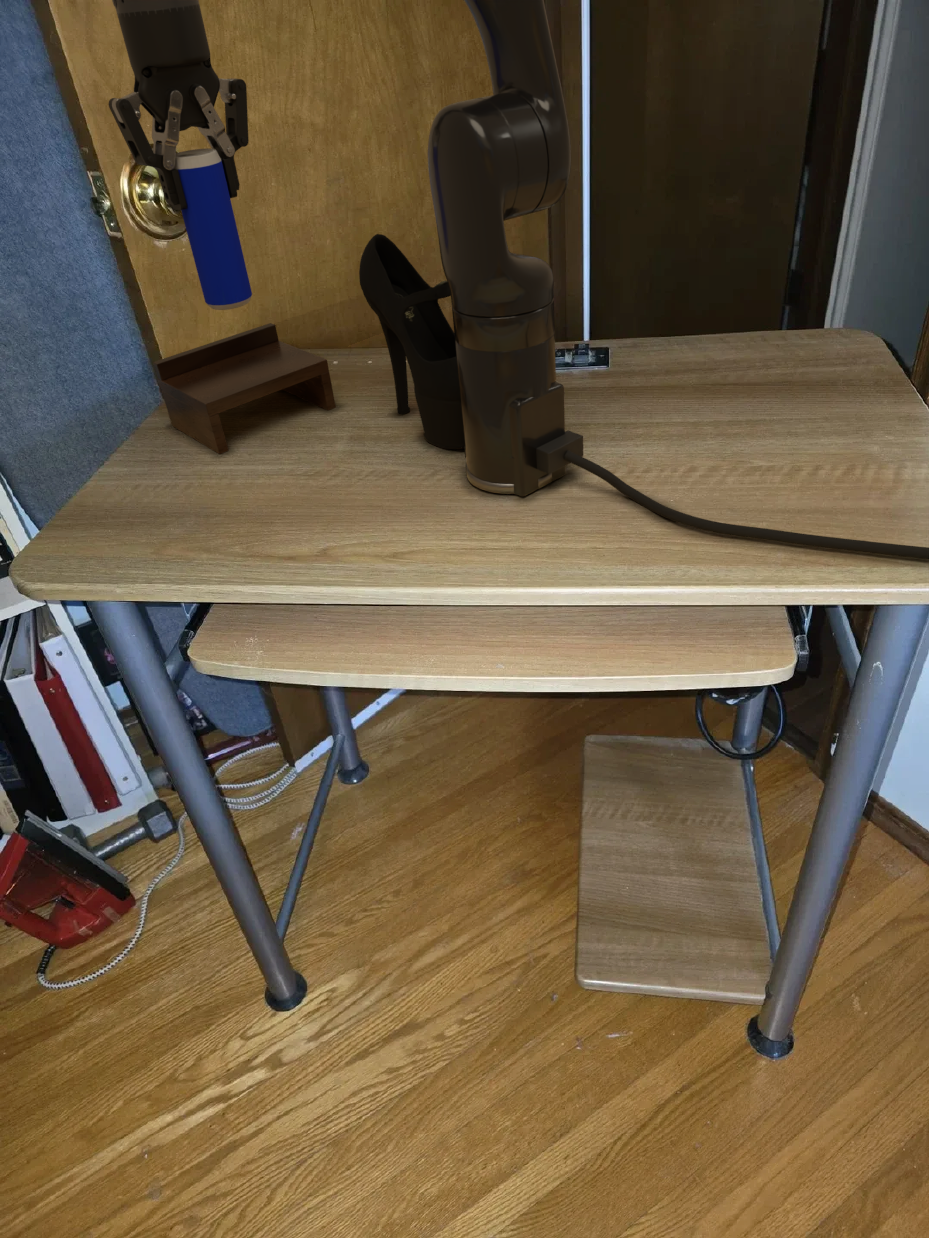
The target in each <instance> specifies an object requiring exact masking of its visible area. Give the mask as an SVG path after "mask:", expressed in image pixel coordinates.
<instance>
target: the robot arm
mask: <svg viewBox="0 0 929 1238" xmlns="http://www.w3.org/2000/svg"><path fill="white" fill-rule="evenodd" d="M462 1H463V3H464V4H465V6H466V7H467V9H468V12H469V13H470V15H471V18H472V19H473V21H474V23H475V26H476V28H477V32H478V33H479V37H480V39H481V43H482V46H483V50H484V54H485V57H486V62H487V66H488V71H489V76H490V82H491V87H492V94H491V95H487V96H482V97H476V98H471V99H466V100H460V101H457V102H454V103H450V104H448V105H445V106H444V107H442V108H441V109H439V110H438V112H437V113H436V115H435V116H434V118H433V120H432V121H431V122H432V123H431V125H430V129H429V133H428V139H427V171H428V179H429V186H430V188H429V189H430V194H431V200H432V206H433V213H434V220H435V226H436V227H435V228H436V233H437V239H438V241H437V242H438V246H439V248H438V249H439V256H440V261H441V266H442V270H443V273H444V276H445V279H446V281H447V282H448V285H449V289H450V294H451V296H450V300H451V311H452V312H451V313H452V322H453V332H454V335H455V346H456V357H457V367H458V378H459V388H460V399H461V410H462V420H463V431H464V441H465V447H464V448H463V450H464V457H465V458H464V459H466V460H465V461H466V463H465V470H466V477H467V480H468V481H469V483H470V484H471V485H473V486H474V487H476V488H477V489H480V490H483V491H485V492H489V493H493V494H503V495H505V494H507V495H508V494H509V495H510V494H512V495H513V494H514V495H517V496H519V497H526V496H528V495H530V494H531V493H534V492H535V491H537V490H539V489H541V488H543V487H545V486H547V485H549V484H550V483H552V482H554V481H556V480H558V479H560V478H562V477H564V476H565V475H566V474H567V466H568V465H569V464H572V465H575V466H577V467H579V468H580V469H583V470H585V471H587V472H589V473H591V474H593V475H595V476H596V477H598V478H600V479H601V480H603V481H605V482H606V483H607V484H608V485H610V486H612V487H613V488H614V489H616V490H617V491H618V492H619V493H621V494H622V495H624V496H626V497H627V498H629V499H631V500H632V501H633V502H636V503H637V504H639V505H641V506H642V507H644V508H646V509H647V510H650V511H651V512H653V513H655V514H657V515H658V516H661V517H663V518H666V519H667V520H670V521H673V522H675V523H678V524H681V525H685V526H688V527H691V528H694V529H697V530H702V531H704V532H705V531H706V532H710V533H714V534H719V535H720V534H721V535H724V536H725V535H726V536H733V537H740V538H749V539H755V540H756V539H757V540H765V541H771V542H778V543H786V544H793V545H798V546H805V547H806V546H807V547H815V548H824V549H832V550H841V551H847V552H849V551H850V552H856V553H857V552H858V553H867V554H873V555H883V556H892V557H903V558H909V559H919V560H921V559H922V560H929V547H927V546H917V545H916V546H915V545H907V544H898V543H889V542H888V543H887V542H879V541H868V540H861V539H852V538H842V537H834V536H825V535H819V534H818V535H816V534H808V533H801V532H795V531H793V532H792V531H787V530H779V529H771V528H763V527H756V526H749V525H740V524H732V523H726V522H718V521H715V520H709V519H707V518H706V519H705V518H702V517H698V516H695V515H690V514H687V513H685V512H681V511H680V510H679V511H678V510H676V509H673V508H670V507H668V506H666V505H663V504H662V503H659V502H658V501H657V500H655V499H652V498H651V497H650V496H647V495H646V494H643V492H641V491H639V490H637V489H635V488H634V487H632V486H631V485H629V484H627V483H626V482H625V481H623V480H622V479H621V478H619V477H618V476H617V475H616V474H614V473H613V472H611V471H610V470H608V469H606V468H605V467H603V466H601V465H599V464H598V463H595V462H593V461H592V460H589V459H588V458H586V457H584V435H582V434H581V433H578V432H575V431H571V430H570V429H569V430H566V415H565V414H566V413H565V412H566V411H565V409H566V408H565V385H564V384H563V383H561V382H558V381H557V367H556V366H557V364H556V325H555V298H554V297H555V284H554V283H555V282H554V274H553V269H552V267H551V265H550V264H549V263H548V262H547V261H545V260H543V259H541V258H539V257H537V256H532V255H527V254H522V253H516V252H511V251H510V249H509V246H508V242H507V236H506V230H505V222H504V221H509V220H513V219H517V218H521V217H524V216H527V215H530V214H534V213H538V212H543V211H545V210H548V209H549V208H551V207H553V206H555V205H556V204H558V202H560V200H561V199H562V198H563V196H564V194H565V192H566V190H567V187H568V184H569V180H570V175H571V167H572V145H571V144H572V143H571V134H570V125H569V120H568V119H569V118H568V115H567V109H566V104H565V98H564V93H563V88H562V84H561V80H560V74H559V69H558V65H557V60H556V56H555V55H556V54H555V50H554V44H553V41H552V36H551V30H550V26H549V21H548V16H547V11H546V5H545V0H462ZM111 2H112V4H113V7H114V8H115V12H116V15H117V19H118V23H119V27H120V30H121V34H122V37H123V41H124V45H125V50H126V52H127V57H128V60H129V64H130V67H131V69H132V72H133V76H134V85H133V91H132V92H130V93H128V94H126V95H124V96H122V97H113V98H110V99H109V100H108V108H109V110H110V112H111V114H112V116H113V118H114V120H115V122H116V125H117V126H118V129H119V131H120V133H121V135H122V137H123V139H124V141H125V143H126V145H127V147H128V150H129V151H130V154H131V156H132V158H133V160H134V162H135V163H136V164H137V165H139V166H145V167H150V168H153V169H155V170H156V172H157V175H158V179H159V183H160V186H161V190H162V194H163V197H164V200H165V202H166V204H168V205H171V207H172V209H174V210H175V211H181V210H185V209H187V203H186V199H185V195H184V191H183V187H182V183H181V179H180V176H179V172H178V169H174V167H175V157H176V153H177V146H178V145H179V141H180V132H183V131H187V130H189V129H190V128H191V127H192V128H197V130H198V131H199V132H200V134H201V135H202V136H203V137H204V138H205V139H206V142H207V143H208V144H209V146H210V149H215V150H216V151H217V153H218V155H219V157H220V158H221V161H222V165H223V169H224V174H225V178H226V182H227V187H228V191H229V196H230V199H233V198H237V197H238V191H240V179H239V176H238V172H237V166H236V162H235V155H236V153H237V151H238V150H240V149H241V148H244V147H247V146H248V144H249V117H248V95H247V93H248V91H247V90H248V89H247V83H246V82H245V81H246V80H244V79H242V78H233V77H232V78H219V76H218V74H217V73H216V71H215V70H214V68H213V66H212V65H213V64H212V62H211V60H212V59H211V51H210V46H209V41H208V37H207V31H206V28H205V23H204V19H203V18H204V17H203V14H202V10H201V6H200V0H111ZM219 94H220V99H221V101H222V102H223V103H224V115H225V125H224V122H223V121H222V119H221V118H220V116H219V114H218V113H217V110H216V109H215V105H216V101H217V98H218V95H219ZM140 107H142V108H144V109H145V110H146V112H147V113H149V115H150V116H151V117H152V121H151V122H152V124H151V125H152V126H151V139H152V142H153V147H152V146H151V144H150V141H149V139H148V136H147V135H146V133H145V131H144V128H143V127H142V125H141V122H140V119H141V117H142V114H141V113H142V112H141V110H140ZM181 212H182V211H181Z"/></svg>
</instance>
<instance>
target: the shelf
mask: <svg viewBox="0 0 929 1238" xmlns="http://www.w3.org/2000/svg"><path fill="white" fill-rule="evenodd" d="M152 365H153V368H154V371H155V374H156V377H157V381H158V384H159V388H160V390H161V394H162V397H163V401H164V403H165V407H166V410H167V414H168V418H169V419H170V423H171V426H172V427H174V428H175V429H177V430H179V432H181V433H183V434H185V435H186V436H188V437H190V438H191V439H194V440H195V441H197V442H199V443H200V444H202V445H203V446H205V447H207V448H208V449H210V450H212V451H214V452H215V453H217V454H219V455H221V454H223V453H226V452H228V451H229V447H228V443H227V439H226V435H225V433H224V429H223V424H222V421H221V418H220V417H221V416H220V414H221V413H223V412H226V411H228V410H231V409H234V408H237V407H239V406H242V405H245V404H247V403H250V402H252V401H253V402H254V401H256V400H257V399H261V398H263V397H266V396H268V395H271V394H274V393H277V392H279V391H284V392H286V393H289V394H291V395H293V396H295V397H297V398H299V399H302V400H304V401H306V402H309V403H311V404H312V405H315V406H317V407H319V408H322V409H324V410H326V411H331V410H333V409H335V408H337V406H336V401H335V395H334V390H333V385H332V379H331V373H330V369H329V363H328V359H327V358H324V357H321V356H319V355H316V354H314V353H312V352H310V351H307V350H304V349H301V348H299V347H296V346H293V345H291V344H289V343H285V342H283V341H281V340H279V335H278V332H277V326H276V324H274V323H272V322H269V323H267V324H263V325H259V326H257V327H254V328H251V329H247V330H246V331H245V330H244V331H242V332H239V333H237V334H234V335H230V336H228V337H224V338H221V339H219V340H215V341H213V342H208V343H206V344H203V345H200V346H197V347H194V348H191V349H187V350H184V351H182V352H179V353H176V354H172V355H169V356H167V357H164V358H162V359H157V360H155V361H153V362H152Z"/></svg>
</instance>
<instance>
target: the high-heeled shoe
mask: <svg viewBox="0 0 929 1238" xmlns="http://www.w3.org/2000/svg"><path fill="white" fill-rule="evenodd" d="M358 270H359V271H358V272H359V273H358V274H359V275H358V276H359V278H358V279H359V286H360V289H361V291H362V293H363V296H364V298H365V300H366V303H367V304H368V305H369V308H370V309H371V310H372V311H373V312H374V313H375V314H376V316H377V318H378V321H379V323H380V327H381V329H382V332H383V336H384V340H385V343H386V346H387V351H388V354H389V359H390V363H391V369H392V375H393V381H394V388H395V389H394V390H395V399H396V411H397V414H398V415H401V416H403V415H405V414H408V413H410V412H411V411H410V410H411V409H410V407H409V403H410V402H409V385H408V371H407V369H408V368H407V367H408V366H409V370H410V374H411V378H412V382H413V391H414V399H415V402H416V405H417V409H418V413H419V417H420V421H421V425H422V429H423V437H424V439H425V440H426V441H427V442H428V443H429V444H431V445H432V446H435V447H437V448H441V449H445V450H461V449H464V447H465V441H464V431H463V420H462V410H461V399H460V388H459V378H458V367H457V357H456V346H455V335H454V329H453V328H452V327H451V325H450V323H449V321H448V319H447V318H446V316H445V314H444V312H443V310H442V309H441V306H440V303H439V300H442V299H445V298H447V297H448V298H449V297H451V294H450V289H449V285H448V282H447V280H443V281H439V282H438V283H437V284H435V285H434V286H431V285H430V284H429V283H427V281H426V280H425V279H424V278H423V277H422V276H421V274H420V273H419V272H418V270H416V268H415V267H414V265H413V264H412V263H411V262H410V261H409V259H408V258H407V257H406V255H405V253H403V252H402V250H401V249H400V248H399V247H398V246H397V245H396V244H395V242H394V241H392V240H391V239H390V238H389V237H387V236H386V235H385V234H381V233H376V234H374V235H373V236H371V238H370V240H368V242H367V243H366V245H365V247H364V249H363V251H362V254H361V257H360V261H359V268H358ZM407 364H408V365H407Z"/></svg>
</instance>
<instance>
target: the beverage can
mask: <svg viewBox="0 0 929 1238" xmlns="http://www.w3.org/2000/svg"><path fill="white" fill-rule="evenodd" d="M174 169H178V172H179V176H180V179H181V183H182V187H183V191H184V195H185V199H186V203H187V209H185V210H181V215H182V218H183V222H184V227H185V230H186V234H187V238H188V241H189V245H190V249H191V253H192V257H193V261H194V264H195V269H196V272H197V276H198V280H199V284H200V287H201V291H202V295H203V299H204V303H205V304H206V305H207V306H208V307H209V308H211V309H212V310H216V311H228V310H234V309H238V308H241V307H243V306H245V305H247V304H249V303H250V301H251V299H252V296H253V292H252V287H251V283H250V278H249V275H248V270H247V266H246V261H245V256H244V253H243V248H242V244H241V240H240V239H241V238H240V235H239V231H238V227H237V222H236V218H235V213H234V209H233V204H232V200H231V198H230V196H229V191H228V187H227V182H226V178H225V174H224V169H223V165H222V161H221V158H220V157H219V155H218V153H217V151H216V150H215V149H212V148H196V149H188V150H184V151H179V152H176V157H175V167H174Z"/></svg>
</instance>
